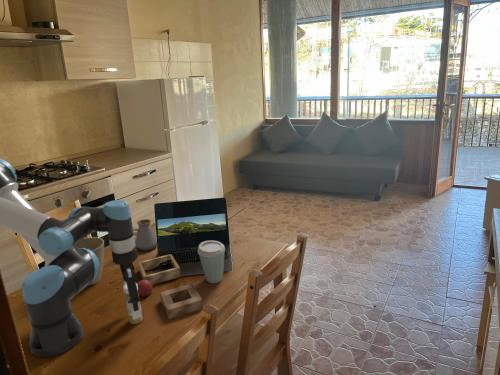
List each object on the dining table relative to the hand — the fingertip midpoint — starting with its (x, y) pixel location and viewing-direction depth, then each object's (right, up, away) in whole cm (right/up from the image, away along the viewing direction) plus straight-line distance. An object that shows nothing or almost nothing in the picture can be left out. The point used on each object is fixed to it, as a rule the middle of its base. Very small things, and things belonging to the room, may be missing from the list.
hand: (133, 306), depth 128 cm
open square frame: (+2, +4, +31) cm, 31 cm away
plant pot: (-26, +2, +28) cm, 38 cm away
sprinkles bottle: (0, -5, +2) cm, 5 cm away
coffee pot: (-13, +10, +53) cm, 55 cm away
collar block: (+14, -2, +9) cm, 17 cm away
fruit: (0, -1, +16) cm, 16 cm away
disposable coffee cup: (+25, +3, +24) cm, 34 cm away
